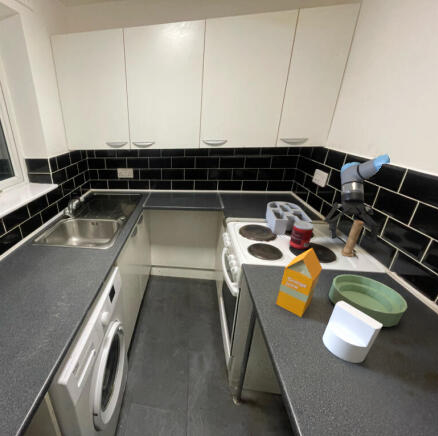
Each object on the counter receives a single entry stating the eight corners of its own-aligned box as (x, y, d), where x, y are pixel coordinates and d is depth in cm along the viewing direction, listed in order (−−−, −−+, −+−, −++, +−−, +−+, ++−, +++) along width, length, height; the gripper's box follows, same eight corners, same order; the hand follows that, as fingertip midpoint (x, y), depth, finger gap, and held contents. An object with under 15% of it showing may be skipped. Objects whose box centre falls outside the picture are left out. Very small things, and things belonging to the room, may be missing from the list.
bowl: (382, 294, 79) (389, 280, 76) (411, 336, 64) (421, 320, 62) (322, 283, 85) (326, 270, 82) (337, 318, 70) (343, 304, 68)
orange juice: (310, 302, 76) (327, 252, 68) (301, 317, 71) (318, 264, 63) (285, 291, 82) (298, 242, 74) (275, 303, 77) (287, 253, 68)
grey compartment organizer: (272, 234, 119) (275, 219, 116) (262, 213, 144) (265, 200, 140) (308, 237, 115) (313, 222, 112) (292, 215, 140) (295, 202, 136)
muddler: (350, 252, 102) (363, 220, 95) (354, 257, 98) (367, 224, 92) (339, 251, 103) (351, 219, 97) (342, 256, 100) (354, 223, 93)
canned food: (308, 243, 110) (313, 223, 106) (308, 251, 104) (314, 230, 99) (289, 239, 114) (294, 219, 109) (288, 247, 108) (293, 226, 103)
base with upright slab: (315, 339, 64) (327, 307, 59) (335, 327, 67) (348, 296, 63) (352, 368, 57) (369, 335, 52) (372, 354, 60) (391, 320, 55)
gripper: (383, 201, 102) (386, 247, 95) (316, 196, 111) (315, 238, 104) (394, 193, 95) (398, 242, 89) (322, 189, 104) (321, 232, 98)
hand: (353, 240), depth 96 cm, fingers open, 13 cm apart
